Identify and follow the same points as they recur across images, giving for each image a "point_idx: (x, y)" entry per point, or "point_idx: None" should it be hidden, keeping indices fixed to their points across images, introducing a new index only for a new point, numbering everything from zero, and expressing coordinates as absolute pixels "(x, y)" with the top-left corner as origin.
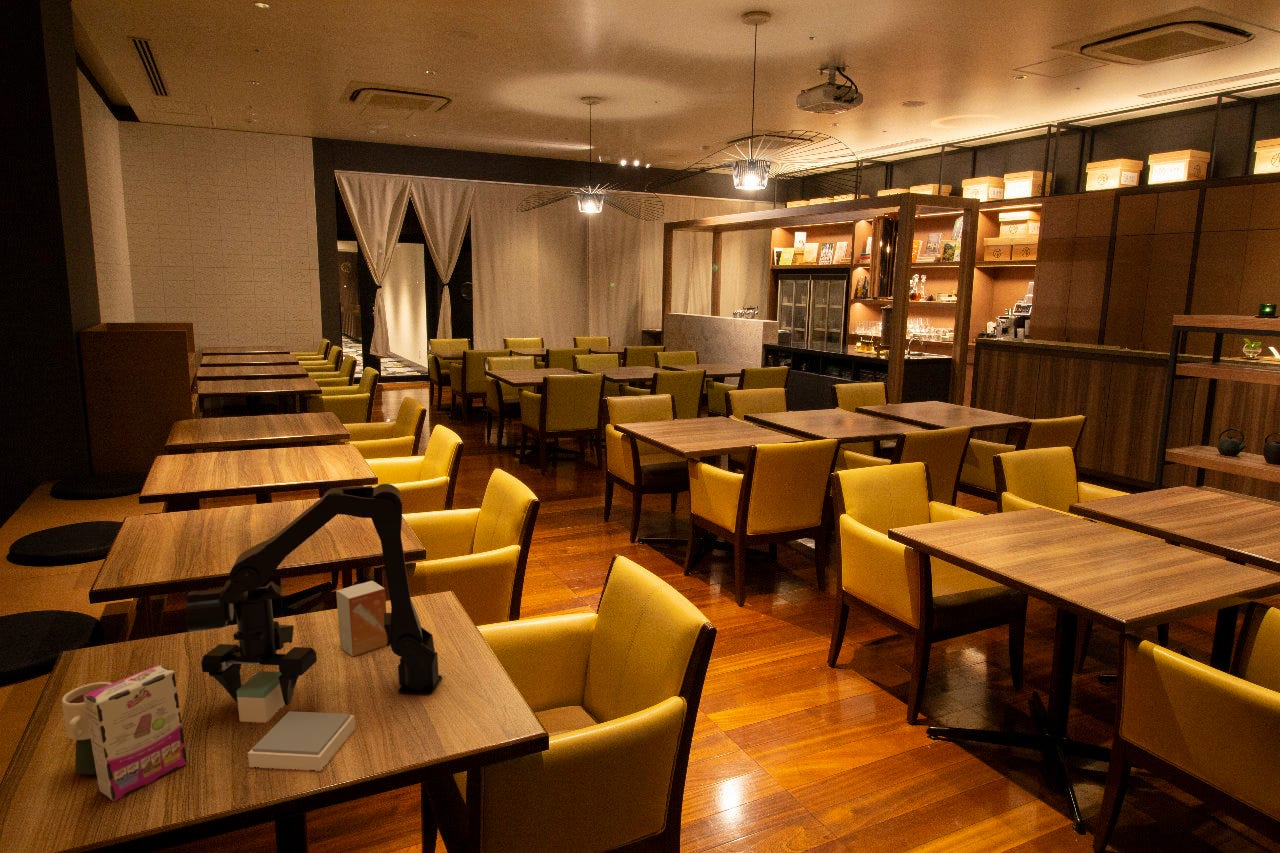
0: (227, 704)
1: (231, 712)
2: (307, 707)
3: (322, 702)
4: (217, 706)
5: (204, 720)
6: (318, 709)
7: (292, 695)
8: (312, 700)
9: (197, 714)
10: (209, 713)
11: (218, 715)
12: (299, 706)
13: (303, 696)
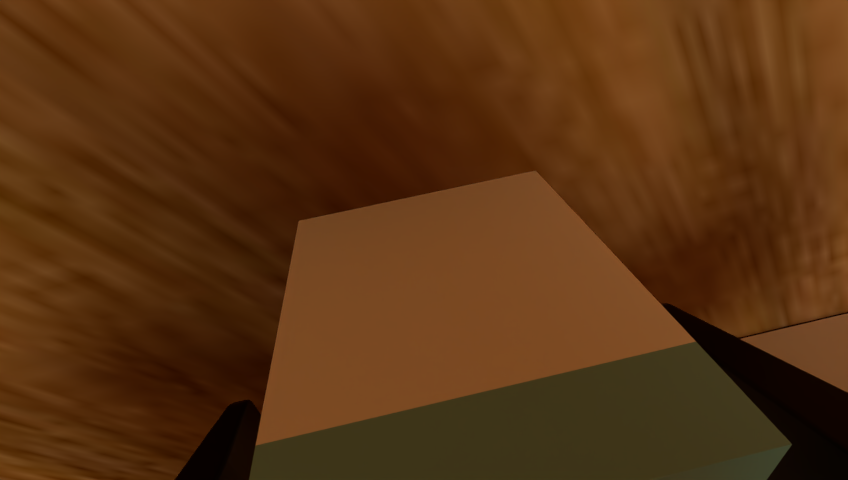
0: (77, 343)
1: (230, 386)
2: (724, 191)
3: (833, 95)
4: (37, 379)
5: (164, 468)
6: (809, 188)
7: (730, 336)
8: (743, 91)
9: (38, 459)
10: (100, 432)
11: (185, 425)
12: (660, 198)
13: (638, 49)
